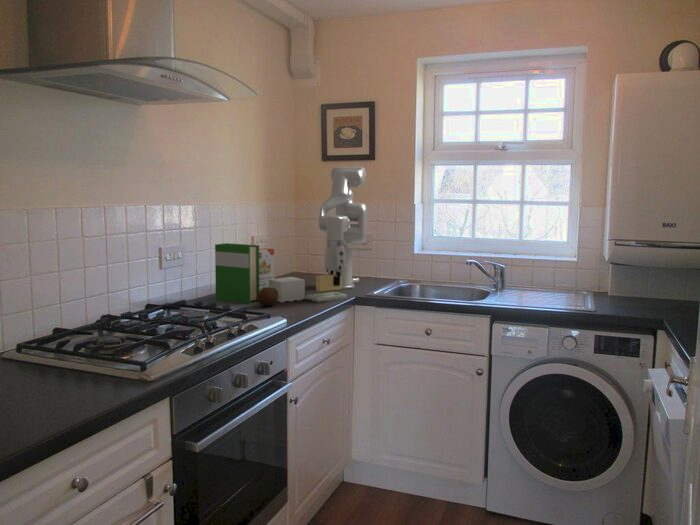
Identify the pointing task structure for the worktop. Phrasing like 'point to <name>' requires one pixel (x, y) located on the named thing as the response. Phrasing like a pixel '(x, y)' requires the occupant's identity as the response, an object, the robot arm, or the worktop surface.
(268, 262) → the cracker box
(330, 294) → the tray
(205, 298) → the worktop surface
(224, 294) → the hardback book
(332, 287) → the tan wooden brick
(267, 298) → the potato
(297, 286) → the notched white block
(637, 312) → the worktop surface
